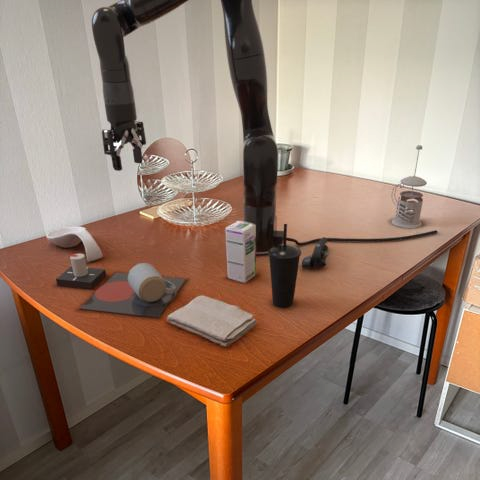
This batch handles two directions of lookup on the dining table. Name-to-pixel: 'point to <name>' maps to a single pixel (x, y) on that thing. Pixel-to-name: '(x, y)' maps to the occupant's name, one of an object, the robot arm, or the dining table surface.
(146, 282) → the ceramic mug
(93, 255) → the spoon rest
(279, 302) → the drinking cup
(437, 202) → the dining table surface
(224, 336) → the washcloth
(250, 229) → the syrup box
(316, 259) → the can opener
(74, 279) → the control box
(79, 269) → the hob knob
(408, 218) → the french press
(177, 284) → the hob
